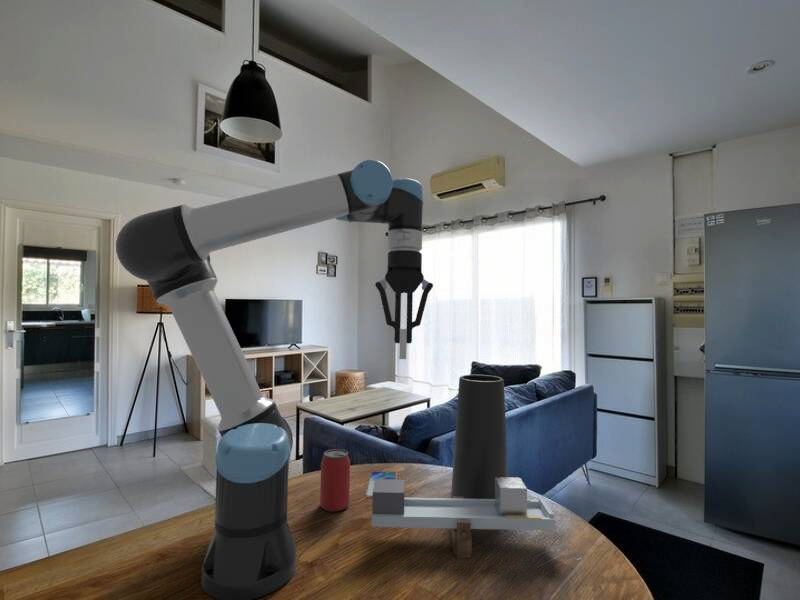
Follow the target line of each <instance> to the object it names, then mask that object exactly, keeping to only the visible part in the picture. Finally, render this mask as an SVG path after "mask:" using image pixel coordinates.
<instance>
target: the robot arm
mask: <svg viewBox="0 0 800 600" xmlns="http://www.w3.org/2000/svg"><path fill="white" fill-rule="evenodd" d="M423 194H424V193H423V186H422V184H421V182H420V181H418V180H416V179H412V178H405V177H404V178H395V179H394V178H393V174H392V172H391V171H390V169H389V167H388V166H387V165H385V163H383V162H382V161H379V160H376V159H366V160H363V161H361V162H360V163H358V164H357V165H355V167H354V168H353V169H352V170H348V171H344V172H341V173H337V174H332V175H329V176H323V177H321V178H315V179H312V180H307V181H304V182H299V183H295V184H291V185H288V186H284V187H278V188H274V189H270V190H266V191H262V192H258V193H257V192H256V193H253V194H250V195H245V196H242V197H237V198H233V199H228V200H225V201H219V202H218V203H212V204H208V205H205V206H201V207H196V208H194V207H191V206H189V205H187V204H181V205H180V204H179V205H176V206H173V207H169V208H168V207H167V208H163V209H159V210H156V211H152V212H147V213H144V214H142V215H138V216H136V217H134V218H132V219H131V220H129V221H128V222H126V223H125V225H124V226H122V228H121V229H120V231H119V232H118V234H117V236H116V237H117V238H116V241H115V252H116V255H117V259H118V261H119V263H120V264H121V266H122V267H123V268H124V269H125V271H127V272H128V273H130V275H132V276H134V277H135V278H138V279H140V280H144V281H146V283H147V284H148V286H149V288H150V290H151V292H152V294H153V297H154V298H155V301H156V303H158V304H161V305H163V306H166V307H168V308H169V309H170V312H171V314H172V316H173V318H174V320H175V322H176V324H177V326H178V329H179V331H180V332H181V334H182V337H183V339H184V341H185V343H186V345H187V348H188V350H189V352H190V354H191V356H192V359H193V360H194V362H195V365H196V366H197V369H198V370H199V372H200V375H201V377H202V378H203V381H204V384H205V385H206V387H207V389H208V392H209V394H210V395H211V398H212V401H213V402H214V404H215V407H216V408H217V411H218V413H219V414H220V417H221V418H220V421H219V424H218V426H217V430H218V433H219V434H220V436H221V437H220V439H219V441H218V444H217V451H216V454H215V458H214V459H215V467H216V472H215V473H216V474H215V503H214V505H215V506H214V507H215V509H214V510H215V511H214V532H213V533H212V537H211V540H210V543H209V545H208V548H207V551H206V554H205V557H204V560H203V562H202V567H201V586H202V589H203V591H204V592H205V593H206V594H207V595H208V596H210V597H212V598H214V599H215V600H255V599H258V598H261V597H264V596H267V595H270V594H271V593H273V592H274V591H277V590H279V588H281V587H283V585H285V584H286V583H287V582H288V581H290V580H291V578H292V577H293V575H294V573H295V571H296V568H297V549H296V548H297V547H296V544H295V540H294V538H293V535H292V533H291V529H290V526H289V522H288V497H289V496H288V493H289V492H288V491H289V490H288V488H289V471H290V461H291V454H292V451H293V444H294V438H293V431H292V428H291V426H290V424H289V422H288V421H287V420H286V419H285V418H284V417H283V416H282V415H281V413H280V411H279V409H278V407H277V405H276V402H275V401H274V399H272V398H269V397H265V396H264V395H263V393H262V391H261V389H260V386H259V385H258V382H257V380H256V378H255V376H254V374H253V372H252V369H251V367H250V365H249V363H248V360H247V359H246V357H245V354H244V352H243V350H242V348H241V345H240V343H239V342H238V339H237V336H236V335H235V333H234V330H233V329H232V327H231V324H230V322H229V320H228V318H227V316H226V314H225V311H224V309H223V307H222V304H221V303H220V300H219V299H218V296H217V294H216V292H215V287H216V285H217V282H218V281H219V280H218V278H217V275H216V273H215V270H214V268H213V266H212V264H211V255H210V254H211V253H212V252H215V251H220V250H222V249H227V248H229V247H234V246H238V245H241V244H244V243H248V242H251V241H256V240H259V239H264V238H267V237H270V236H274V235H277V234H281V233H285V232H289V231H293V230H296V229H301V228H303V227H307V226H311V225H315V224H319V223H322V222H327V221H329V220H335V219H336V220H337V221H343V222H348V223H370V224H371V223H372V224H373V223H374V224H387V225H388V231H387V233H388V234H387V236H388V237H387V249H388V250H389V252H388V253H387V271H386V273H385V276H384V278H383V279H382V280H381V279H380V280H379V281H377V282H375V287H376V289H377V290H378V292H379V297H380V300H381V304H382V309H383V313H384V317H385V322H386V325H388V326H389V327H392V328H393V329H394V339H393V340H394V343H395V344H399V353H398V354H399V356H398V358H399V360H407V344H412V341H413V329H414V328H416V327H418V326H420V325H421V323H422V319H423V316H424V311H425V307H426V303H427V299H428V297H429V293H430V292H431V290H432V289H433V288H434V284H433V283H432V282H429V281H427V280H426V279H425V277H424V274H423V271H422V266H423V265H422V263H423V262H422V260H423V258H422V257H423V255H422V253H421V252H420V251H421V250H422V249H423V209H424V208H423V207H424V206H423V205H424V197H423ZM387 284H388V285H389V287H390V288H391V289H392V291H393V293H394V295H395V296H394V297H395V298H394V299H395V300H394V320H393V317H392V314H391V308H390V305H389V300H388V295H387V291H386V290H387V288H388V287H387ZM420 285H421V290H423V291H422V293H421V297H420V300H419V306H418V308H417V312H416V317H415V320H414V321H413V298H414V297H413V296H414V293H415V292H416V291H417V289H418V288H419V286H420ZM402 294H406V328H402V327H401V324H402V323H401V321H402V319H401V317H402V316H401V315H402V314H401V312H402V307H401V306H402V305H401V304H402Z"/></svg>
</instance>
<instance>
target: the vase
mask: <svg viewBox="0 0 800 600" xmlns="http://www.w3.org/2000/svg"><path fill="white" fill-rule="evenodd" d="M457 393H458V394H457V406H456V421H455V432H454V433H455V434H454V435H455V436H454V449H453V459H452V460H453V461H452V462H453V463H452V477H451V490H450V495H451V496H450V497H451V498H452V496H462V497H464V499H495V477H509V468H508V464H509V463H508V447H507V446H508V443H507V425H506V424H507V422H506V398H505V380H504V378H503V377H500V376H496V375H488V374H487V375H486V374H466V375H465V374H464V375H461V376H459V379H458V391H457Z"/></svg>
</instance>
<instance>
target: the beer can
mask: <svg viewBox="0 0 800 600" xmlns="http://www.w3.org/2000/svg"><path fill="white" fill-rule="evenodd" d="M350 480H351V459H350V457H349V451H347V450H346V449H341V448H333V449H328V450H325V451H324V452H323V456H322V459H321V462H320V490H319V493H320V494H319V500H320V501H319V505H320V507H321V508H322V509H323V510H325V511H327V512H332V513H334V512H341V511H343V510H345V509H347V507H348V506H349V504H350V493H351V491H350V484H351V481H350Z"/></svg>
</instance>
